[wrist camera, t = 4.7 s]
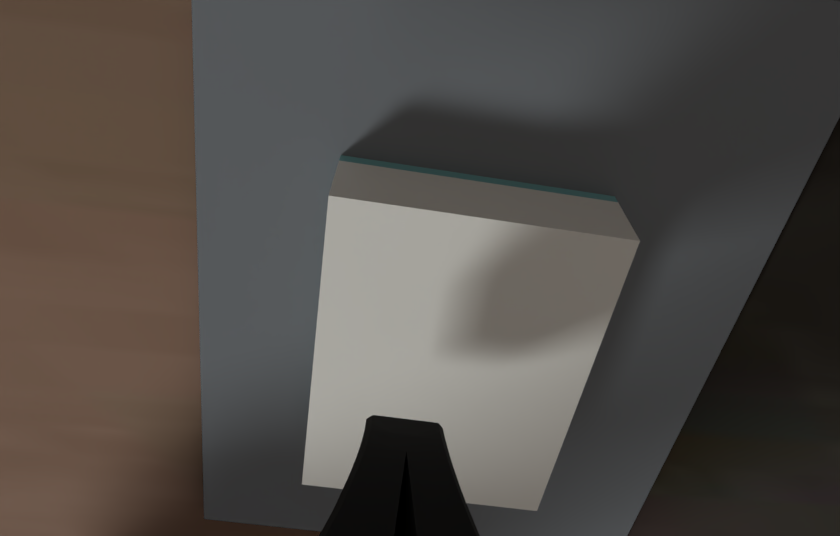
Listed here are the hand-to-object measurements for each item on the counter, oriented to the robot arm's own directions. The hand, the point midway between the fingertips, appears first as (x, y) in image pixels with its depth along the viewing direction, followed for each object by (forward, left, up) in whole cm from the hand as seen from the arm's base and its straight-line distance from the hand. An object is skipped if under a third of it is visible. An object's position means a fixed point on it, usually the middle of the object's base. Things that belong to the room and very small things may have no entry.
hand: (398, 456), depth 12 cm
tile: (0, +2, -3) cm, 4 cm away
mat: (0, -1, -5) cm, 5 cm away
